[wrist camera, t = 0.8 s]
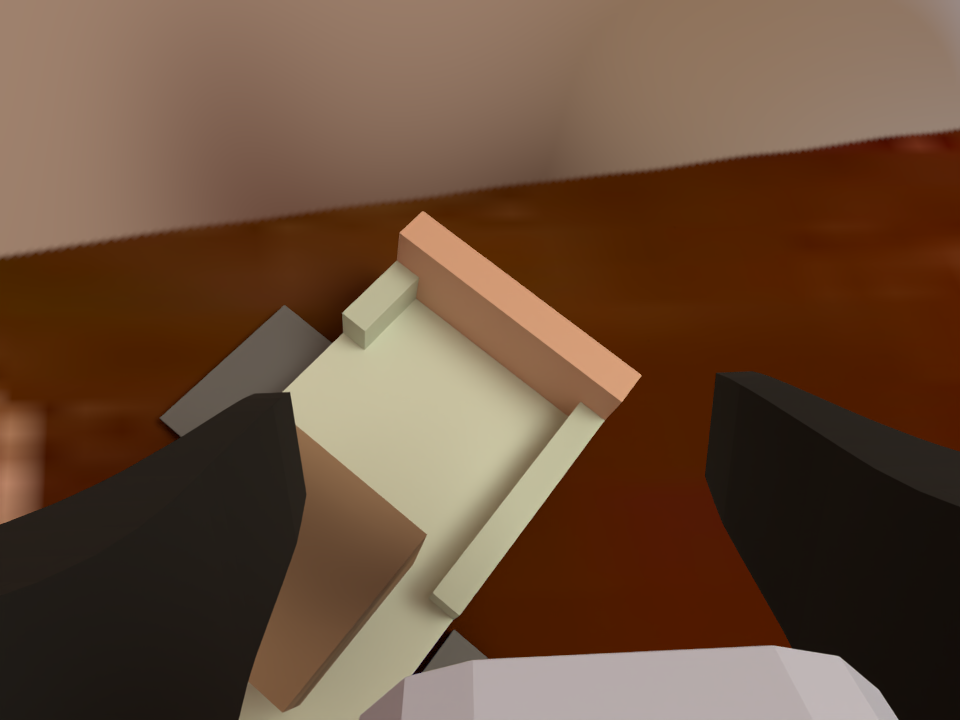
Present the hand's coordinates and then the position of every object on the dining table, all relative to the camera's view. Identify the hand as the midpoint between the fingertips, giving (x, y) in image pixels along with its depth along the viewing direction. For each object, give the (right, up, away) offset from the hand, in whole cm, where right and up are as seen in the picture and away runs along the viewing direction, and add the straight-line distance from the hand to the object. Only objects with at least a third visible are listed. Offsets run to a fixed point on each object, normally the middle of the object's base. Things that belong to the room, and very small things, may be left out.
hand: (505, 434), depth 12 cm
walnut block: (-6, -5, +9) cm, 12 cm away
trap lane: (-5, -4, +12) cm, 14 cm away
